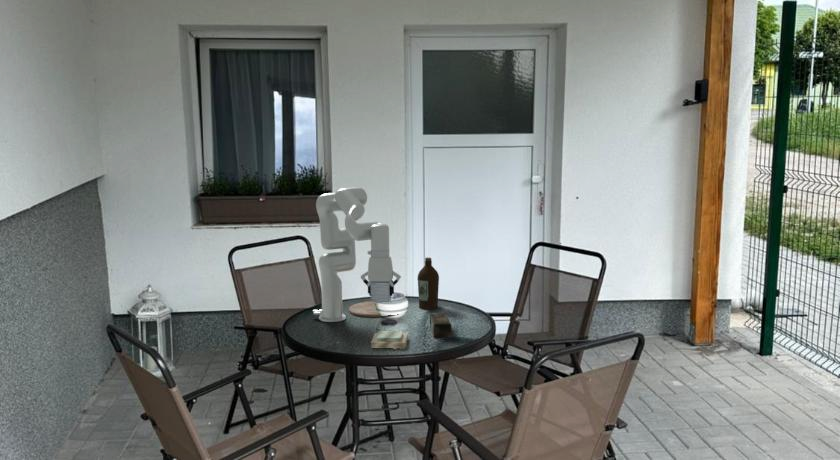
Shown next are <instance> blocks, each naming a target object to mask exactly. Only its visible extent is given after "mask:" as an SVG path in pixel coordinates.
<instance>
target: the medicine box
mask: <svg viewBox="0 0 840 460" xmlns="http://www.w3.org/2000/svg"><path fill="white" fill-rule="evenodd" d="M370 283H371V296H370V302H390V303H391V300H392V296H390V286H391V285H390V282H370Z"/></svg>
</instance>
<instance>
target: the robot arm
mask: <svg viewBox="0 0 840 460" xmlns="http://www.w3.org/2000/svg"><path fill="white" fill-rule="evenodd" d="M367 202H368V195H367V192H366V190H365V189H364V188H363V187H344V188H339V189H338V190H337V191H336V192H328V193H327V192H326V193H323V194H321V195H319V196H318V197H317V199H316V203H315V207H316V212H317V215H318V217H319V218H318V219H319V228H320V231H319V232H320V243H321V247H322V249H324V250H327V251H330V250H331V251H332V250H334V251H333V252H326V253H324V254H321V256H319V258H318V266H319V272H320V273H319V274H320V281H321V283H320V284H321V285H320V286H321V308H320V309H319V310H318V309H313V310H312V313H313V315H315V316H318V315H319V316H318V320H319V321H321V322H324V323H337V322H342V321H344V320H346V318H347V316H346V315H345V313H343V282H342V280H341V278H340V277H339V275H338V273H344V272H350V271H352V270H354V269H355V267H356V264H357V263H356V262H357V259H356V258H357V257H356V242H360V241H368V240H369V241H370V250H367V255H370V257H369V258H368V266H367V271H365V272H364V273H363V274H361V275H360V279H361V280H362V281H363V283H364V284H365V285H366V287H367V294H368V295H369V296H370V297H371V283H370V282H390V285H391V286H390V296H391V297H392V296H393V294H395V285H397V283H398V282H399V281H400V279H401V277H402V276H401V275H400V274H399V273H397V272H396V271H394V270H393V269H394V267H393V261H392V257H391V256H390V228H389V227H390V226H389V225H388V224H386V223H382V222H379V221H365V222H357V221H359V219H361V218H362V217H363V216H364V214H365V211H366V209H365V205H366V204H367ZM335 212H343V213H344V215H345V217H344V218H345V219H344V227H343V228H340V225H339V219H338V216H337V215H336V213H335ZM341 249H342V251H335V250H341ZM366 277H367V278H366ZM394 277H396V279H395V280H394V281H393V279H394Z"/></svg>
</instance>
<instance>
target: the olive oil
mask: <svg viewBox="0 0 840 460" xmlns="http://www.w3.org/2000/svg"><path fill="white" fill-rule="evenodd" d="M432 263H433V261H432V257H425V258H424V266H423V267H422V268H421V269H420V270H419V271H418V274H417V290H418V292H417V293H418V307H419V309H422V310H435V309H437V308H438V305H439V283H440V275H439V272H438V271H437V269H436V268H435V267H434V266H433V264H432Z"/></svg>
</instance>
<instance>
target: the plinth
mask: <svg viewBox="0 0 840 460" xmlns="http://www.w3.org/2000/svg"><path fill="white" fill-rule="evenodd" d="M408 338H409V333H408V332H405V333H404V332H403V331H402V330H378V332H374V334H373V337H372V340H371V341H370V349H372V348H393V350H398V349H397V348H400V349H399V350H406V348H407V345H408V344H407V343H408V340H409V339H408ZM405 347H406V348H405Z"/></svg>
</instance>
